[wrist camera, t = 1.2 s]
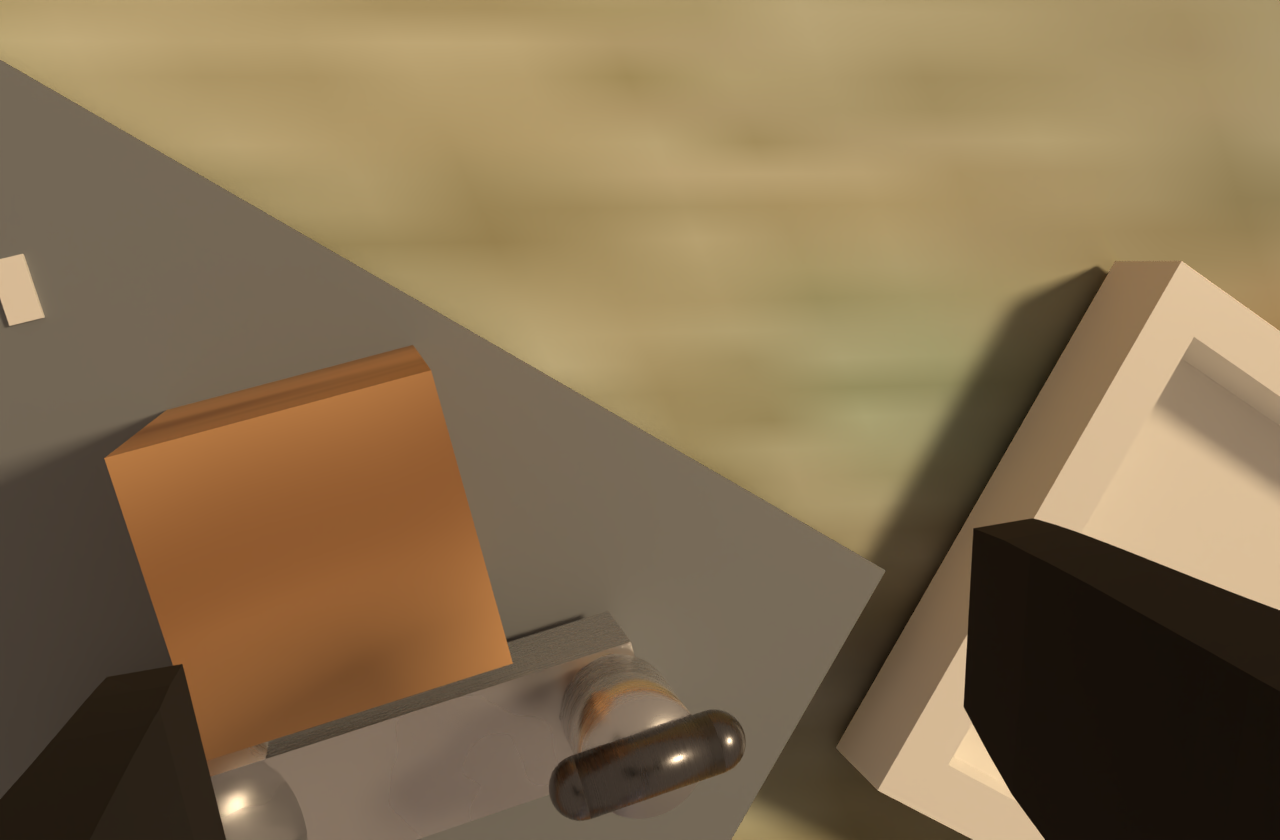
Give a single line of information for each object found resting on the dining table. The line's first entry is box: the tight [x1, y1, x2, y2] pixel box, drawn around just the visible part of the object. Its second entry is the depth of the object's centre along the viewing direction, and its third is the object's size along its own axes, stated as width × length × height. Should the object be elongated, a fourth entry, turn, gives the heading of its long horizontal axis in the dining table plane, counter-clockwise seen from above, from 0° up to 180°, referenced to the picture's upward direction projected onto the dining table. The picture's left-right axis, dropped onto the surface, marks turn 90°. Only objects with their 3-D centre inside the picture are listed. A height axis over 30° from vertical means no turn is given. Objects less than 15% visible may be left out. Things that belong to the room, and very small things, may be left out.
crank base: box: [0, 60, 886, 840], centre depth 21 cm, size 18×18×1 cm
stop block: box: [104, 345, 513, 761], centre depth 18 cm, size 4×4×5 cm
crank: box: [207, 611, 746, 840], centre depth 18 cm, size 10×4×5 cm, turn 104°
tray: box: [836, 261, 1280, 840], centre depth 24 cm, size 11×11×2 cm
